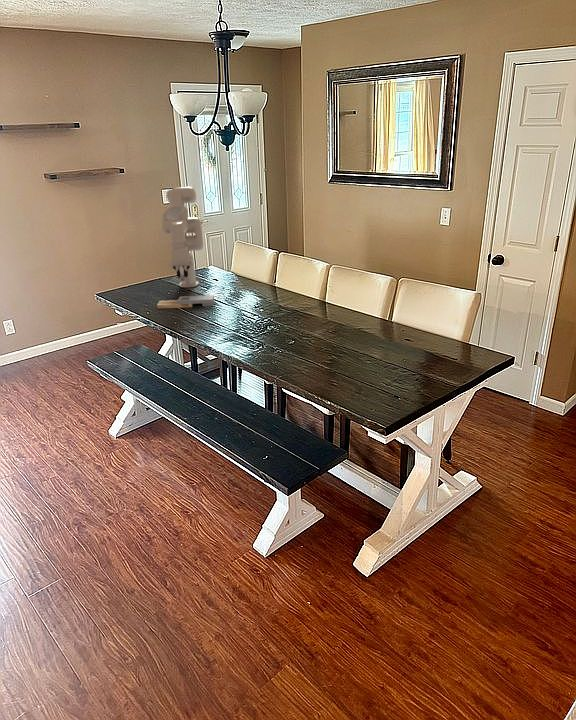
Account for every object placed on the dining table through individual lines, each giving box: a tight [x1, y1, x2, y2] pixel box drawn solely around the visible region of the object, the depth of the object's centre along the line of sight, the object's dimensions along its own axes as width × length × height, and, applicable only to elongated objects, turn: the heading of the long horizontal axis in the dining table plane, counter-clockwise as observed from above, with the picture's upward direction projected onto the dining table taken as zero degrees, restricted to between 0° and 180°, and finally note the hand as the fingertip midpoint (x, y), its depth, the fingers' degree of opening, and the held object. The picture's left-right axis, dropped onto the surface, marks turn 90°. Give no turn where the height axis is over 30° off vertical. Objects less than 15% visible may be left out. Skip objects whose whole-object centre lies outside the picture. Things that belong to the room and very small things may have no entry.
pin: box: [179, 266, 186, 282], centre depth 306 cm, size 3×3×9 cm
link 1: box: [156, 299, 194, 310], centre depth 314 cm, size 8×20×2 cm, turn 91°
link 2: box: [177, 294, 215, 307], centre depth 314 cm, size 8×20×4 cm, turn 92°
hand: (182, 277), depth 307 cm, fingers closed on pin, 3 cm apart
